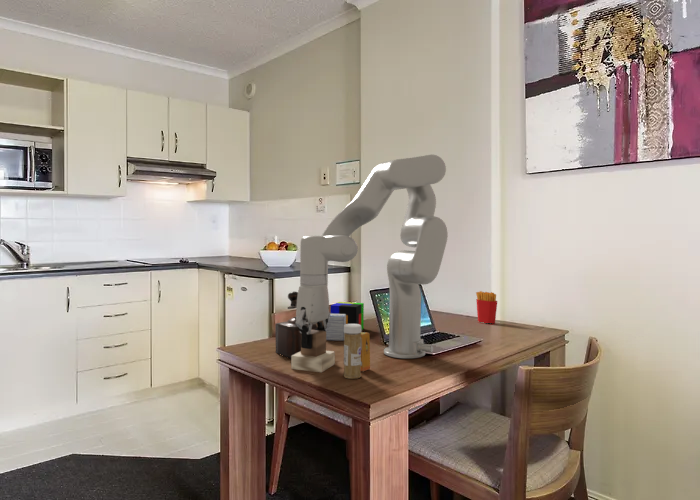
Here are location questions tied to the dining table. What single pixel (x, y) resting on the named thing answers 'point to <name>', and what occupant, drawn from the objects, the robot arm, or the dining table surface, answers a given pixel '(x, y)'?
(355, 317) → the puzzle toy
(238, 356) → the dining table surface
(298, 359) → the birch block
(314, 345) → the walnut block
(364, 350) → the supplement box
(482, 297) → the french fries
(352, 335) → the sprinkles bottle
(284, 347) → the manual coffee grinder
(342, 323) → the medicine box
